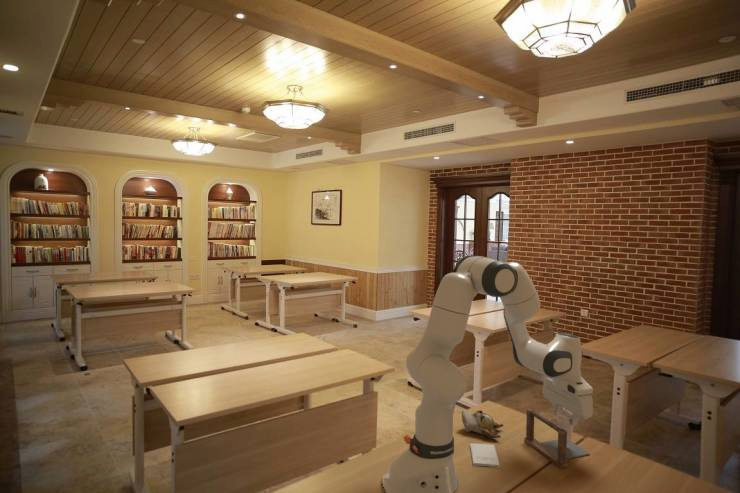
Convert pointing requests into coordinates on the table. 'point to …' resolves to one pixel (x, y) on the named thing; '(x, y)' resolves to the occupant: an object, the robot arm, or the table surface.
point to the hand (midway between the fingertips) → (565, 420)
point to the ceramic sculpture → (480, 423)
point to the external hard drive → (484, 455)
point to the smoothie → (565, 422)
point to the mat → (571, 450)
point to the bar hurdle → (562, 444)
